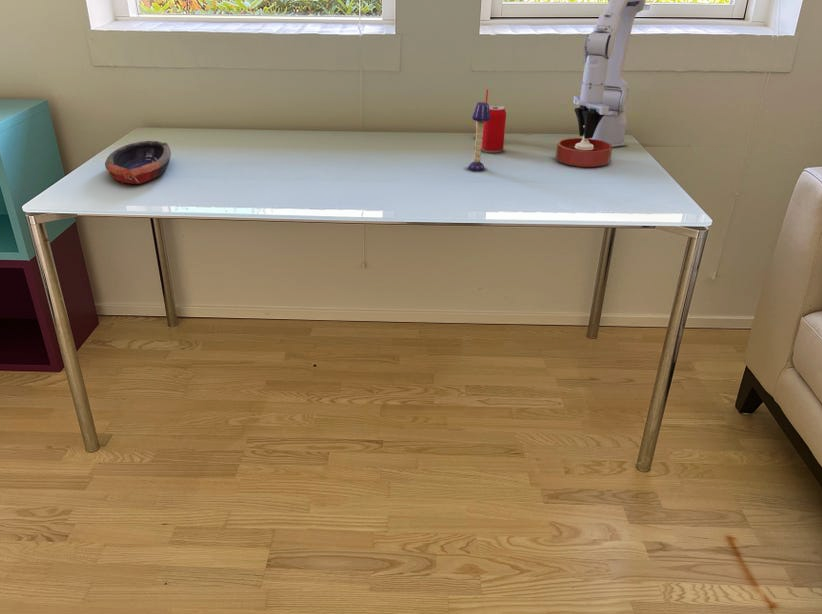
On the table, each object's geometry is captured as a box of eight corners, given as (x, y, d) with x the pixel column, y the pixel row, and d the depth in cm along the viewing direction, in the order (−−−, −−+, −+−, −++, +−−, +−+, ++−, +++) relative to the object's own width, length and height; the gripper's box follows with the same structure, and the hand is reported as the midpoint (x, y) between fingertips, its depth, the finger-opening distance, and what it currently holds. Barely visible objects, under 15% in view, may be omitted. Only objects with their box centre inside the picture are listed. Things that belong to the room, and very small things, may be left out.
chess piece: (572, 145, 197) (577, 107, 192) (590, 145, 198) (595, 107, 192) (578, 150, 193) (583, 111, 188) (596, 150, 193) (602, 111, 188)
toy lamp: (474, 165, 193) (478, 100, 185) (489, 168, 191) (494, 102, 182) (465, 169, 190) (469, 103, 181) (480, 172, 188) (485, 105, 179)
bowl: (577, 151, 206) (579, 135, 203) (620, 162, 196) (622, 145, 194) (544, 160, 198) (546, 143, 196) (587, 171, 189) (589, 154, 186)
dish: (181, 155, 201) (179, 137, 199) (159, 189, 175) (156, 169, 172) (124, 156, 200) (121, 137, 198) (93, 190, 174) (89, 170, 171)
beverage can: (502, 148, 208) (506, 104, 202) (503, 154, 203) (507, 109, 197) (480, 147, 209) (483, 104, 203) (481, 153, 204) (484, 109, 197)
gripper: (565, 79, 192) (559, 131, 199) (594, 89, 180) (586, 144, 187) (589, 77, 194) (582, 129, 200) (619, 87, 182) (610, 142, 189)
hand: (585, 136), depth 194 cm, fingers closed on chess piece
